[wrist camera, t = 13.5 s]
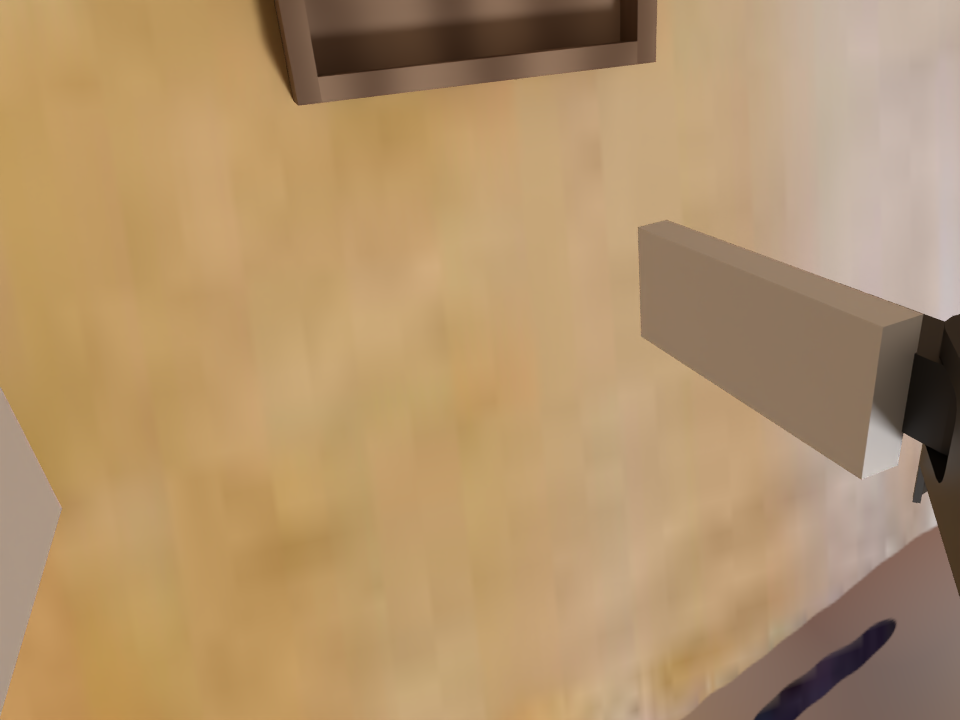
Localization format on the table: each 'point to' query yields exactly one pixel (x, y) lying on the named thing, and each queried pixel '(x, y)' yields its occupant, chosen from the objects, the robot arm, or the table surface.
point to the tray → (453, 42)
